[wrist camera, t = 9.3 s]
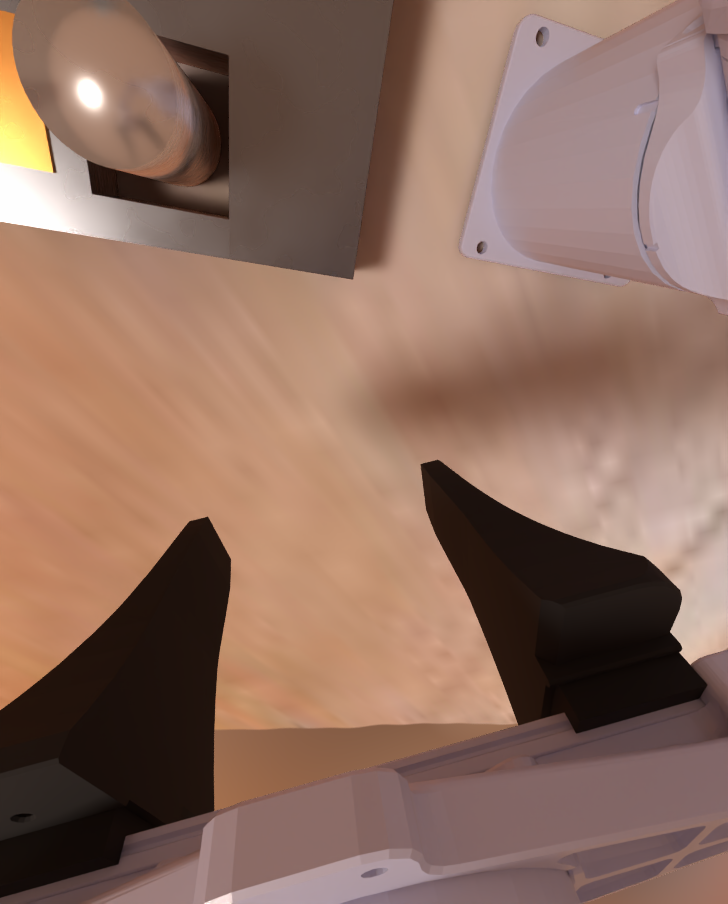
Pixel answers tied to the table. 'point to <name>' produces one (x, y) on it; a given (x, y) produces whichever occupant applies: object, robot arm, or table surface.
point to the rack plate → (250, 135)
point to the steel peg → (113, 90)
